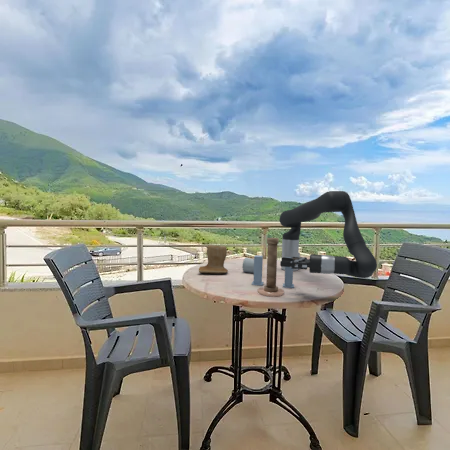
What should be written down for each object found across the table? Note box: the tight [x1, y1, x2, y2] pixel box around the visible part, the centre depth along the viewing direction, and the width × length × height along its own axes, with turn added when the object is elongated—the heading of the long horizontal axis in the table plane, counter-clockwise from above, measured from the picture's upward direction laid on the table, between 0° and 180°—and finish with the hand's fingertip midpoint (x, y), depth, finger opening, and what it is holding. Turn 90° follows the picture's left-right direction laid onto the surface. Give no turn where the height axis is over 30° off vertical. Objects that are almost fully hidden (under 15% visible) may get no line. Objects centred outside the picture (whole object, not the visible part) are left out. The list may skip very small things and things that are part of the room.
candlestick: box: [263, 237, 279, 292], centre depth 135 cm, size 6×6×22 cm
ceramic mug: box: [242, 257, 254, 274], centre depth 175 cm, size 11×8×8 cm
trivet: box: [256, 286, 285, 298], centre depth 136 cm, size 11×11×1 cm
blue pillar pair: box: [251, 255, 295, 289], centre depth 148 cm, size 19×5×13 cm, turn 77°
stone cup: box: [198, 244, 229, 275], centre depth 170 cm, size 15×12×15 cm
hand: (281, 261), depth 134 cm, fingers open, 8 cm apart
